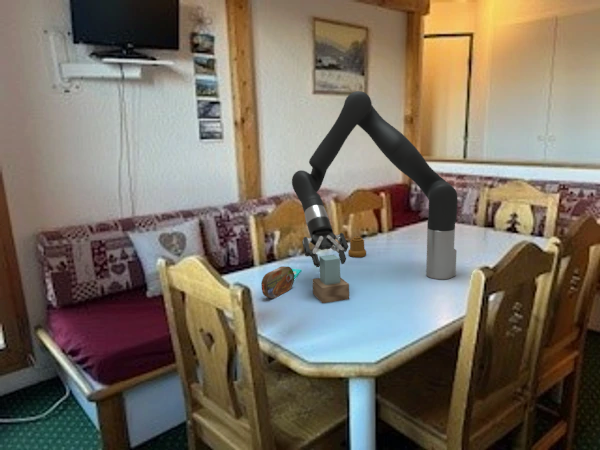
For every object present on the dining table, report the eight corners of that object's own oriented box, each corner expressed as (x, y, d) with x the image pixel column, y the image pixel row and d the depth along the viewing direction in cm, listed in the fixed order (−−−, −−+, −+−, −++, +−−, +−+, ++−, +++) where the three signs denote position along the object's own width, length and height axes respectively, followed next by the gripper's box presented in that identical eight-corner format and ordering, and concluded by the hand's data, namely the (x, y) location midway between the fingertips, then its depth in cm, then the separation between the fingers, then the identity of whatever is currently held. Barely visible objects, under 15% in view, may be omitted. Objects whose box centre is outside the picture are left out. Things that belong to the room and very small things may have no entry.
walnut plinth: (338, 289, 158) (338, 275, 157) (349, 299, 149) (349, 284, 148) (312, 293, 155) (312, 279, 154) (322, 303, 147) (322, 287, 146)
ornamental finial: (365, 258, 192) (347, 257, 194) (367, 253, 199) (349, 252, 201) (365, 239, 190) (346, 238, 192) (367, 234, 197) (349, 234, 199)
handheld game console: (302, 272, 179) (302, 268, 178) (290, 286, 164) (290, 283, 163) (277, 270, 181) (276, 267, 181) (263, 285, 166) (263, 281, 166)
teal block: (334, 278, 154) (333, 254, 153) (340, 282, 150) (339, 258, 148) (319, 280, 153) (319, 256, 151) (325, 285, 148) (324, 260, 146)
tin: (268, 302, 149) (266, 276, 148) (260, 300, 151) (258, 275, 149) (295, 287, 162) (294, 263, 160) (287, 285, 163) (286, 262, 161)
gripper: (299, 217, 152) (312, 261, 144) (340, 213, 156) (355, 255, 148) (295, 230, 158) (307, 272, 150) (335, 226, 162) (348, 267, 154)
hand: (331, 264), depth 149 cm, fingers open, 8 cm apart
